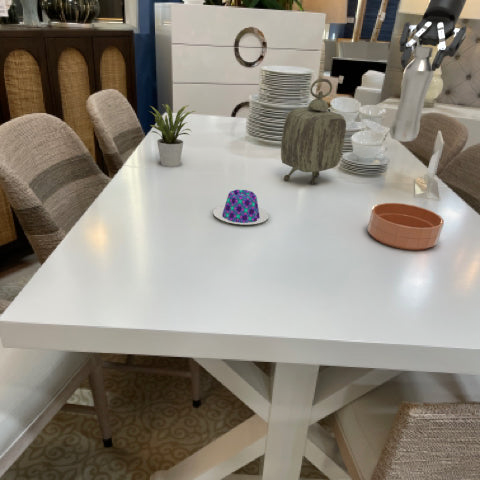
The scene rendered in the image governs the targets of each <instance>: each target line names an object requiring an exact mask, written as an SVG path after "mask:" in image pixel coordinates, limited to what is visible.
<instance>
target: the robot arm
mask: <svg viewBox="0 0 480 480" xmlns="http://www.w3.org/2000/svg"><path fill="white" fill-rule="evenodd" d="M466 3H467V0H429V1H428V4H427V6H426V9H425V10H424V13H423V15H422V18H421V20H420V21H419V22H417V24H411V22H409V21H406V22H405V23H404V24H403V28H402V31H401V35H400V39H399V52H400V53H402V55H401V57H400V65H401V67H402V68H403V69H406V67H407V66H408V65H409V62H410V60H411V58H412V54H414V52H415V48H416V46H419V47H423V46H433V47H437V52H436V53H435V55H434V58H433V61H432V63H431V65H432V71H433V72H436V70H437V69H438V70H439V68H440V67H441V66H442V63H443V61H444V59H445V57H450V58H452V57H455V55H456V54H457V52H458V51H459V49H460V47H461V46H462V44H463V42H465V39H466V37H467V26H465V25H463V26H461V27H460V28H458V27H456V26H457V22H458V20H459V19H460V16H461V14H462V12H463V9H464V7H465V5H466ZM414 33H415V34H414ZM413 34H414V35H413ZM411 37H412V38H411ZM451 37H453V39H452V41H451V43H450V44H449V45H447V46H446V41H447V40H448V39H450V38H451ZM409 38H411V39H409Z"/></svg>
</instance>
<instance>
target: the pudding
mask: <svg viewBox="0 0 480 480" xmlns="http://www.w3.org/2000/svg"><path fill="white" fill-rule="evenodd" d="M212 213H213V215H214V216H215V218H217V219H218V220H221V221H223V222H226V223H228V224H229V223H230V224H235V225H244V226H245V225H257V224H261V223H264V222H266V221H267V220H268V219H269V213H268V212H267V211H266V210H265V209H263V208H260V207H259V203H258V197H257V195H256V193H254V192H253V191H251V190H247V189H234V190H230V191H229V193H228V194H227V198H226V201H225V204H223V205H219V206H217V207H215V208H214V209H213V212H212Z"/></svg>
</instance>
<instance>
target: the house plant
mask: <svg viewBox="0 0 480 480" xmlns="http://www.w3.org/2000/svg"><path fill="white" fill-rule="evenodd" d="M189 106H190V104H188V105H183V106H182V107H181V108H180V109H179V110H178V111H177V113H176V115H175V119H174V117H173V111H172V109H171V107H170V106H169V103H168V102H166V104H164V105H163V107H164V108H165V111H166V113H167V114H166V115H165V116H164V117H163V116H162V114H161V113H160V112H159V111H158V110H157V109H156V108H155V107H154V106H151V105H150V108H152V110H153V111H154V112H155V113H153V111H150V110H149V111H148V112H149V113H152V115H153V116H154V122H155V124H153V125H152V124H149V126H150V127H152V128H154V129H156V130H157V131H155V130H152V131H151V133H154V134H157V135H158V136H160V137H161V138H159V139H157V140H156V142H157V148H158V149H157V150H158V154H159V160H160V165H161V166H164V167H168V168H169V167H170V168H173V167H179V166H180V165H181V160H182V154H183V147H184V140H181V139H178V138H179V136H181V135H187V136H190V134H189V133H188V132H184V131H190V132H191V133H192V130H191V129H190V128H185V129H183V127H184V126H185V124H188V123H189V122H187V121H185V122H184V120H185V119H186V117H187V116H188V115H190V114H191V113H194V112H195V110H192V111H188V112H186V111H185V109H186V108H187V107H189ZM182 129H183V130H182ZM158 131H159V132H161V133H159V132H158Z"/></svg>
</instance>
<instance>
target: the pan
mask: <svg viewBox="0 0 480 480" xmlns="http://www.w3.org/2000/svg"><path fill="white" fill-rule="evenodd" d="M369 216H370V217H369V221H368V225H367V231H368V233H369V235H371V236H372V238H373V239H374V240H376V241H377V242H378V243H381V244H384V245H385V246H388V247H392V248H395V249H399V250H400V249H401V250H407V251H422V250H427V249H430V248H432V247H435V246H436V245H437V244H438V243H439V240H440V236H441V233H442V230H443V228H444V222H445V221H444V219H443V218H442V216H441V215H439V214H437V213H436V212H435V211H432V210H429V209H427V208H425V207H421V206H417V205H413V204H409V203H402V202H401V203H400V202H399V203H398V202H383V203H378V204H376V205H374V206H373V207H372V209H371V212H370V215H369Z"/></svg>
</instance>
